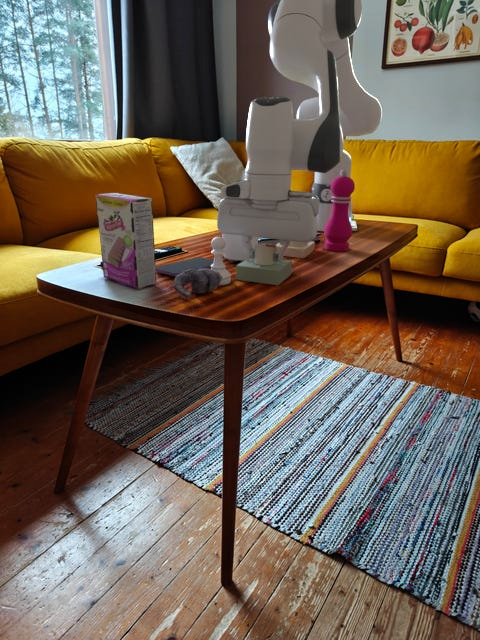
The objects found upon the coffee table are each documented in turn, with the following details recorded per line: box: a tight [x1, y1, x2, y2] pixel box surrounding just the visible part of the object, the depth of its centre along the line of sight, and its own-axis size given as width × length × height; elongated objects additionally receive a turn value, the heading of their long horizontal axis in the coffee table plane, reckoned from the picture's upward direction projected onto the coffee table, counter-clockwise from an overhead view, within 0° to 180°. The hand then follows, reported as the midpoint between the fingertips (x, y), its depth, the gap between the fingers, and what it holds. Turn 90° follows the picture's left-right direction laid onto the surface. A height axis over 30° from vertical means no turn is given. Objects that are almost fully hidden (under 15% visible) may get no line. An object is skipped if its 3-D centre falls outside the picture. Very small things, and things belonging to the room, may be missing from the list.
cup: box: [221, 233, 260, 264], centre depth 103 cm, size 10×10×13 cm
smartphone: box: [156, 256, 214, 277], centre depth 98 cm, size 7×1×15 cm
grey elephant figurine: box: [173, 268, 222, 299], centre depth 82 cm, size 5×5×10 cm
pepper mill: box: [323, 170, 356, 252], centre depth 115 cm, size 7×7×20 cm
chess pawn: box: [210, 236, 232, 286], centre depth 88 cm, size 5×5×9 cm
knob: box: [254, 243, 277, 265], centre depth 91 cm, size 4×4×4 cm
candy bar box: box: [95, 192, 157, 290], centre depth 85 cm, size 11×5×16 cm, turn 50°
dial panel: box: [235, 258, 293, 286], centre depth 93 cm, size 9×9×3 cm
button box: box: [275, 240, 316, 259], centre depth 114 cm, size 10×8×4 cm
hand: (264, 259), depth 92 cm, fingers closed on knob, 4 cm apart
